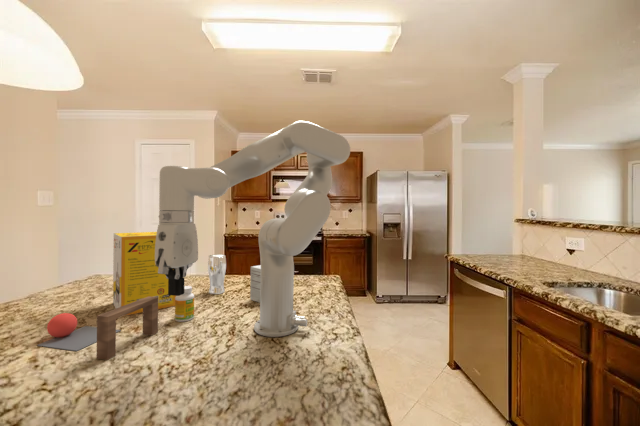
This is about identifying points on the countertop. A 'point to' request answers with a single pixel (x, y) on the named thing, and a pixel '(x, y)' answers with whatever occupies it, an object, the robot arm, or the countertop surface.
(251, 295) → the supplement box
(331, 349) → the countertop surface
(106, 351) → the bridge
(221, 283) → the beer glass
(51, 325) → the ball
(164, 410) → the countertop surface
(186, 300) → the supplement bottle
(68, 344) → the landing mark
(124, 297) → the packaging box
